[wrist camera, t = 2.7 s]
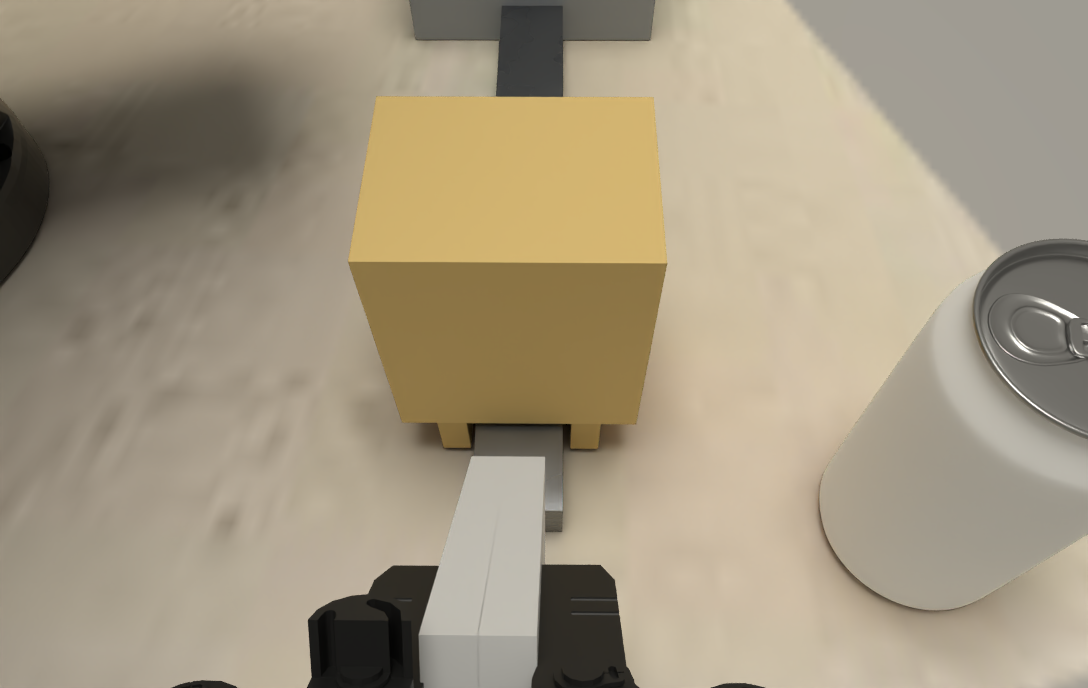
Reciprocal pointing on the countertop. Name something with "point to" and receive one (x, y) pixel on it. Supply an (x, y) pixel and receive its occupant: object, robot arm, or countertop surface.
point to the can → (973, 439)
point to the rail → (530, 72)
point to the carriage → (512, 258)
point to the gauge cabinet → (588, 5)
